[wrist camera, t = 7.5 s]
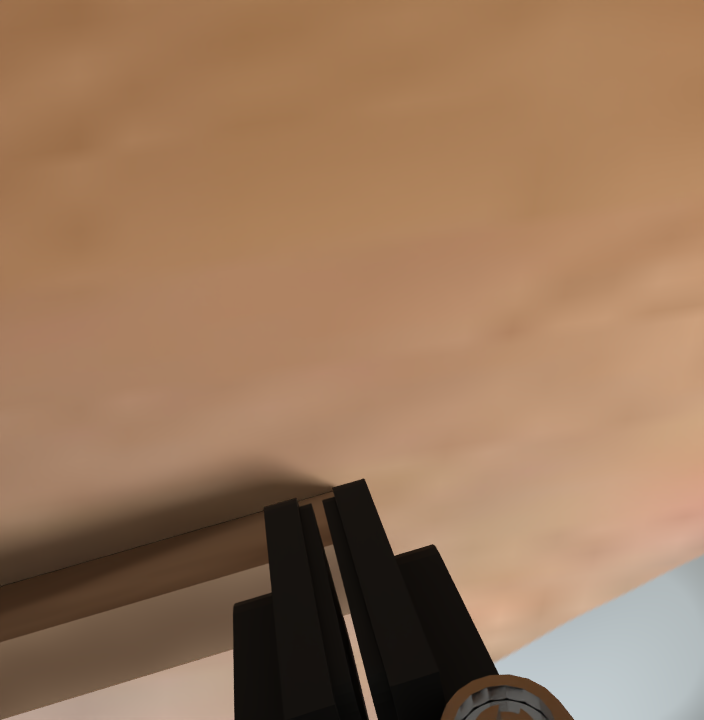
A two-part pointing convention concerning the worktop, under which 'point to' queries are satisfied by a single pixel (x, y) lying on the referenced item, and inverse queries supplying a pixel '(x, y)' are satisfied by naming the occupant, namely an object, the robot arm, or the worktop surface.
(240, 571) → the brown angled block
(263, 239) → the worktop surface
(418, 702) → the robot arm
